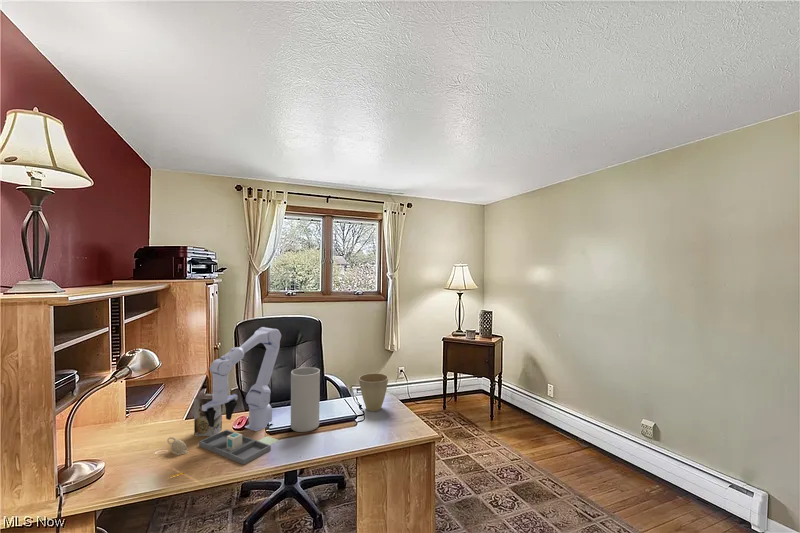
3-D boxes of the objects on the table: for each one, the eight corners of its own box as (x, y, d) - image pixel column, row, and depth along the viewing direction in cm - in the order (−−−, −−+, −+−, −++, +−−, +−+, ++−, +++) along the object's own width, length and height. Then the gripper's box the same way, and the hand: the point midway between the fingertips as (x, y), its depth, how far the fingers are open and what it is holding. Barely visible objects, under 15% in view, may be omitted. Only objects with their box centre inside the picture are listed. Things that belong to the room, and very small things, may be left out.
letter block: (235, 444, 147) (235, 431, 147) (242, 447, 145) (242, 434, 145) (226, 449, 143) (226, 435, 143) (232, 451, 141) (233, 438, 141)
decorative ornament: (179, 457, 137) (179, 443, 137) (165, 452, 141) (165, 438, 141) (189, 452, 141) (189, 439, 141) (175, 448, 145) (175, 434, 145)
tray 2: (240, 439, 152) (240, 434, 152) (254, 445, 147) (255, 439, 147) (213, 452, 141) (213, 447, 141) (227, 459, 137) (227, 453, 137)
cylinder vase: (290, 422, 169) (290, 368, 169) (318, 419, 173) (318, 366, 173) (290, 434, 157) (291, 376, 157) (320, 430, 161) (321, 374, 161)
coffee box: (222, 430, 160) (222, 393, 160) (213, 437, 154) (214, 399, 154) (203, 429, 161) (203, 392, 161) (193, 436, 155) (193, 398, 155)
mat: (267, 436, 155) (267, 436, 155) (279, 441, 151) (279, 440, 151) (253, 443, 148) (253, 442, 148) (265, 448, 145) (265, 447, 145)
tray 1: (226, 434, 156) (226, 429, 156) (240, 439, 152) (240, 434, 152) (198, 446, 146) (198, 441, 146) (212, 452, 141) (212, 447, 141)
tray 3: (255, 445, 147) (255, 439, 147) (270, 451, 143) (270, 445, 143) (228, 459, 137) (228, 453, 137) (243, 465, 132) (243, 459, 132)
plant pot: (376, 400, 197) (376, 371, 197) (393, 409, 185) (394, 378, 185) (352, 407, 187) (353, 376, 187) (369, 417, 176) (370, 384, 176)
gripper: (230, 382, 157) (229, 414, 157) (197, 392, 144) (196, 427, 144) (240, 385, 153) (240, 417, 153) (208, 396, 141) (207, 431, 141)
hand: (220, 422), depth 149 cm, fingers open, 7 cm apart
